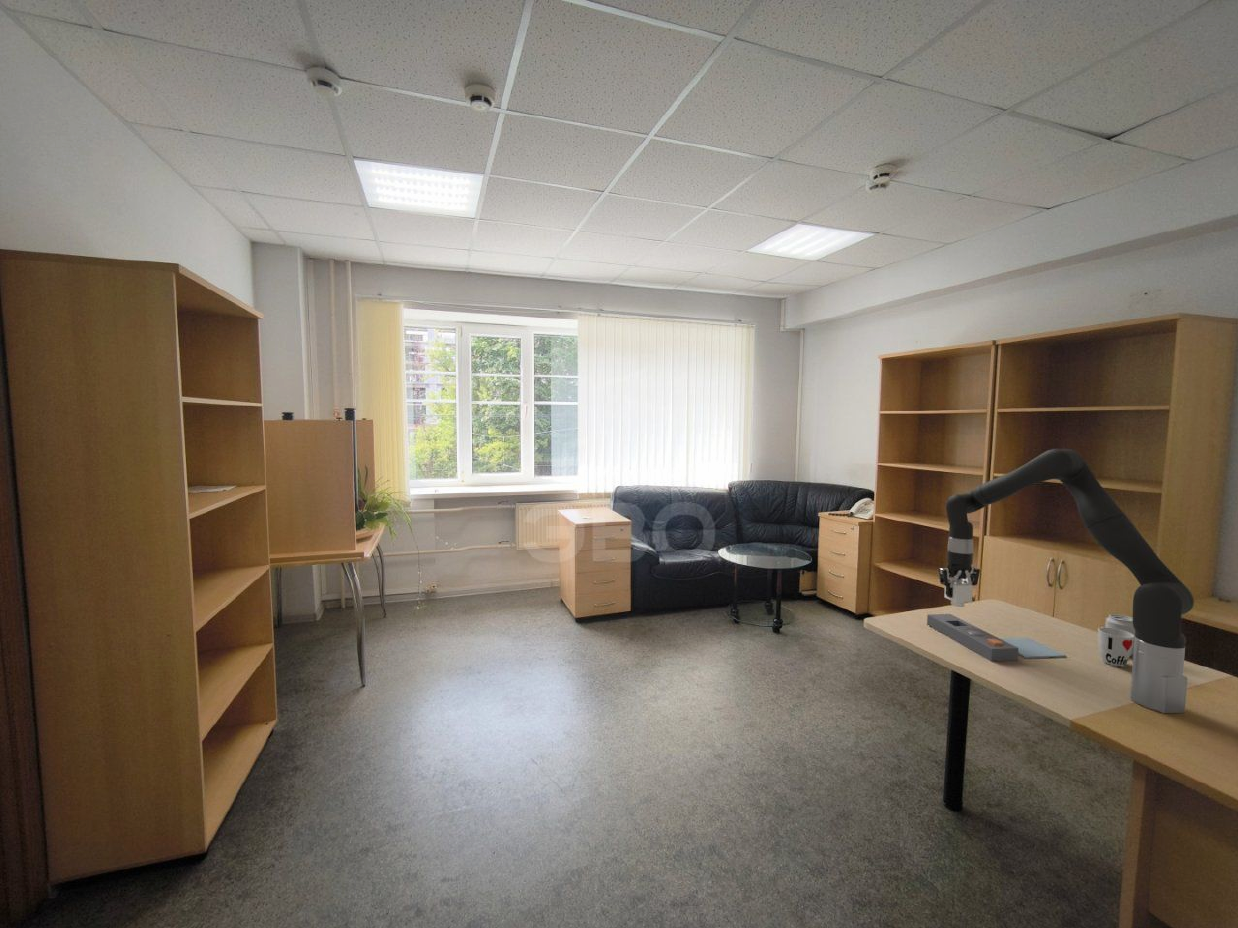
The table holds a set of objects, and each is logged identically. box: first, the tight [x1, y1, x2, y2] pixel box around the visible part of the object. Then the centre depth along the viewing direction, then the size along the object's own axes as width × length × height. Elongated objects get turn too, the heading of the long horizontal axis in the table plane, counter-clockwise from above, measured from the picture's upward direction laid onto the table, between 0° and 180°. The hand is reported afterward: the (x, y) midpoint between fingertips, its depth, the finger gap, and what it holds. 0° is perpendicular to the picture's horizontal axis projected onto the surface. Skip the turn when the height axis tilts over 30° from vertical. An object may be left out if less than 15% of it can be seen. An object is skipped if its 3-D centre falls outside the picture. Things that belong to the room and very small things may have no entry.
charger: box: [943, 579, 974, 608], centre depth 182 cm, size 6×6×10 cm
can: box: [1104, 613, 1135, 657], centre depth 168 cm, size 8×8×12 cm
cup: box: [1097, 626, 1134, 668], centre depth 160 cm, size 8×8×10 cm
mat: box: [999, 637, 1067, 659], centre depth 171 cm, size 14×14×1 cm
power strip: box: [926, 613, 1019, 662], centre depth 177 cm, size 30×9×5 cm, turn 4°
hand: (958, 596), depth 182 cm, fingers closed on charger, 5 cm apart
